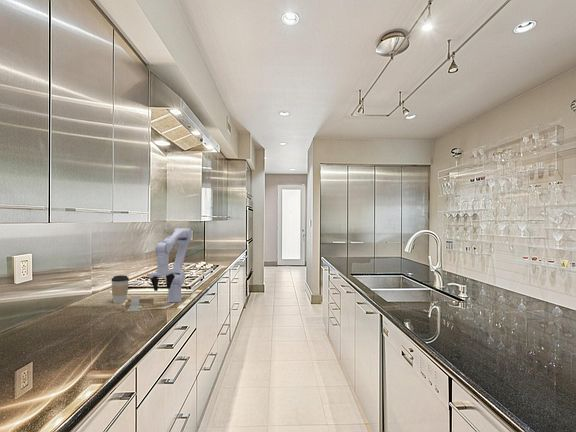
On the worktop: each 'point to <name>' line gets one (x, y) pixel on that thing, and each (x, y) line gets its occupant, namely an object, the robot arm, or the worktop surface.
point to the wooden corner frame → (142, 302)
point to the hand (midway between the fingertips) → (162, 289)
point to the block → (135, 303)
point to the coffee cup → (119, 288)
